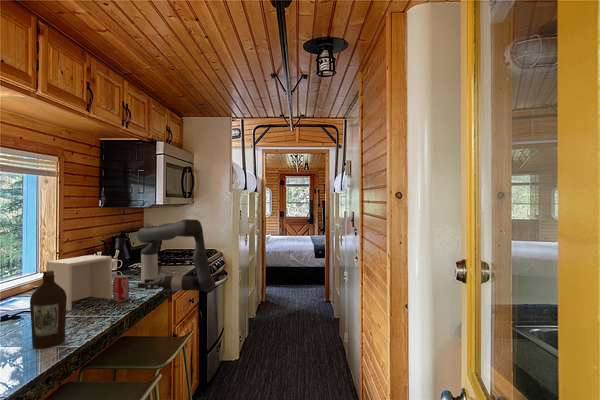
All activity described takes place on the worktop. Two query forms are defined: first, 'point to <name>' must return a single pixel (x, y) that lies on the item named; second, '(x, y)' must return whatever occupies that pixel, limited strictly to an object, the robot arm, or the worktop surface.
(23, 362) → the worktop surface
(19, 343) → the worktop surface
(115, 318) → the worktop surface
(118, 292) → the soda can
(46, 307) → the olive oil
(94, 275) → the cubby
